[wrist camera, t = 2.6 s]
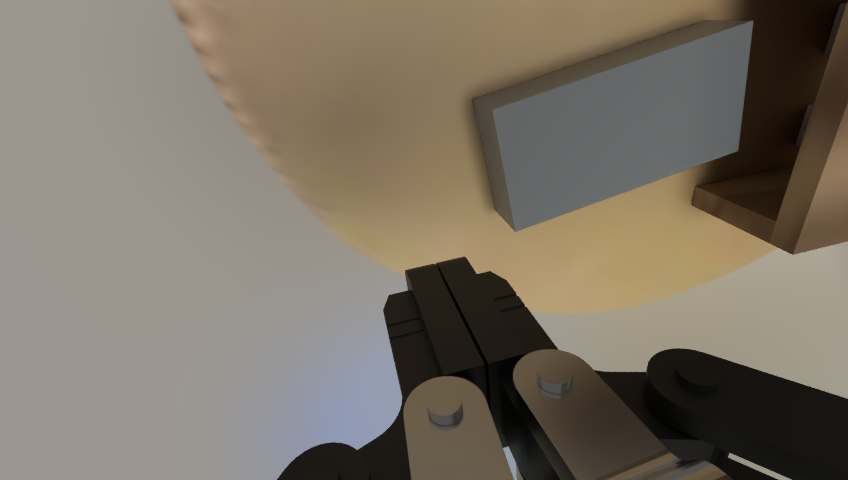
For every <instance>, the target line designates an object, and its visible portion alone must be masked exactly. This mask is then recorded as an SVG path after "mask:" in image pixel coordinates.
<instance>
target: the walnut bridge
mask: <svg viewBox="0 0 848 480" xmlns="http://www.w3.org/2000/svg"><path fill="white" fill-rule="evenodd" d="M824 55H830V57H829V60H828V63H827V67H826V70H825V73H824V76H823V79H822V82H821V85H820V88H819V91H818V94H817V97H816V100H815V103H813V104H808V107H807V110H806V113H805V116H804V119H803V122H802V126H801V129H800V132H799V135H798V138H797V141H796V144H795V146H797V147H800V150H799V153H798V156H797V159H796V162H795V165H794V166H790V167H785V168H781V169H776V170H771V171H767V172H762V173H757V174H752V175H748V176H743V177H738V178H734V179H729V180H724V181H720V182H715V183H710V184H706V185H701V186H696V187H695V192H694V197H693V202H692V206H695V207H697V208H699V209H701V210H703V211H705V212H707V213H709V214H711V215H713V216H715V217H717V218H719V219H721V220H723V221H725V222H727V223H729V224H731V225H733V226H735V227H737V228H739V229H741V230H743V231H746V232H748V233H750V234H752V235H754V236H756V237H758V238H760V239H762V240H764V241H766V242H768V243H770V244H772V245H774V246H776V247H778V248H780V249H782V250H784V251H787V252H788V253H790V254H793V255H794V254H798V253H802V252H806V251H810V250H814V249H818V248H822V247H826V246H830V245H834V244H838V243H842V242H846V241H848V2H847V3H841V4H840V6H839V9H838V12H837V15H836V18H835V22H834V25H833V28H832V31H831V34H830V37H829V41H828V44H827V47H826V50H825V53H824Z"/></svg>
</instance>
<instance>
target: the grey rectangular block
mask: <svg viewBox="0 0 848 480" xmlns="http://www.w3.org/2000/svg"><path fill="white" fill-rule="evenodd" d="M753 21H754V20H704V21H701V22H698V23H695V24H692V25H690V26H687V27H684V28H681V29H678V30H675V31H672V32H669V33H666V34H663V35H660V36H657V37H654V38H651V39H648V40H645V41H643V42H640V43H637V44H634V45H631V46H628V47H625V48H622V49H619V50H616V51H613V52H610V53H607V54H604V55H601V56H599V57H596V58H593V59H590V60H587V61H584V62H581V63H578V64H575V65H572V66H569V67H566V68H563V69H560V70H557V71H554V72H552V73H549V74H546V75H543V76H540V77H537V78H534V79H531V80H528V81H525V82H522V83H519V84H516V85H513V86H510V87H508V88H505V89H502V90H499V91H496V92H493V93H490V94H487V95H484V96H481V97H478V98H475V99H472V100H473V105H474V110H475V114H476V119H477V124H478V129H479V133H480V138H481V143H482V148H483V153H484V157H485V162H486V167H487V172H488V176H489V181H490V186H491V191H492V195H493V200H494V205H495V210H496V212H497V213H498V214H499V215H500V216H501V217H502V218H503V219H504V220H505V221H506V222H507V223H508V224H509V225H510V227H511V228H512V229H513V230H514V231H515V232H516V231H519V230H522V229H524V228H527V227H530V226H533V225H535V224H538V223H541V222H544V221H546V220H549V219H552V218H555V217H557V216H560V215H563V214H566V213H568V212H571V211H574V210H577V209H580V208H582V207H585V206H588V205H591V204H593V203H596V202H599V201H602V200H604V199H607V198H610V197H613V196H615V195H618V194H621V193H624V192H626V191H629V190H632V189H635V188H637V187H640V186H643V185H646V184H648V183H651V182H654V181H657V180H659V179H662V178H665V177H668V176H670V175H673V174H676V173H679V172H682V171H684V170H687V169H690V168H693V167H695V166H698V165H701V164H704V163H706V162H709V161H712V160H715V159H717V158H720V157H723V156H726V155H728V154H731V153H734V152H737V151H738V148H739V140H740V131H741V123H742V114H743V106H744V97H745V89H746V80H747V72H748V63H749V55H750V46H751V38H752V29H753Z"/></svg>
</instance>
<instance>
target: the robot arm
mask: <svg viewBox="0 0 848 480" xmlns="http://www.w3.org/2000/svg"><path fill="white" fill-rule="evenodd" d="M405 275H406V281H407V287H408V291H405V292H401V293H396V294H392V295H389V296H388V299H387V302H386V304H385V307H384V310H383V311H384V316H385V321H386V325H387V330H388V335H389V339H390V344H391V348H392V353H393V358H394V362H395V366H396V371H397V375H398V380H399V384H400V389H401V393H402V405H401V409H400V412H399V414H398V416H397V418H396V419H395V421H394V423H393V424H392V425H391V426H390V427H389V428H388V429H387V430H386V431H385V432H384V433H383V434H382V435H380V436H379V437H377V438H376V439H374V440H373V441H371V442H370V443H368V444H366V445H365V446H363V447H362V448H360V449H358V450H356V449H355V448H353V447H351V446H349V445H347V444H343V443H326V444H321V445H318V446H315V447H313V448H310V449H308V450H307V451H305V452H303V453H302V454H300V455H299V456H298V457H296V458H295V459H294V460H293V461H292V462H291V463H290V464H289V465H288V466H287V468H286V469H285V470H284V471H283V472H282V474H281V475H280V476H279V478H278V479H277V480H514V479H513V476H512V473H511V470H510V467H509V464H508V461H507V459H506V456H505V453H504V450H503V448H504V447H507V446H509V448H510V450H511V453H512V455H513V457H514V459H515V461H516V469H517V470H516V472H517V480H778V479H775V478H773V477H771V476H769V475H766V474H764V473H762V472H759V471H757V470H755V469H753V468H750V467H748V466H746V465H743V464H741V463H739V462H736V461H734V460H732V459H730V458H728V455H729V453H732V454H734V455H737V456H739V457H741V458H743V459H746V460H748V461H750V462H753V463H755V464H757V465H760V466H762V467H764V468H767V469H769V470H771V471H774V472H776V473H778V474H780V475H783V476H785V477H788V478H790V479H792V480H848V399H846V398H843V397H840V396H837V395H834V394H831V393H827V392H824V391H821V390H818V389H815V388H812V387H809V386H806V385H803V384H800V383H796V382H793V381H790V380H787V379H784V378H781V377H778V376H774V375H772V374H768V373H765V372H762V371H759V370H756V369H753V368H750V367H747V366H744V365H740V364H737V363H734V362H731V361H728V360H725V359H722V358H719V357H715V356H712V355H709V354H706V353H703V352H699V351H695V350H690V349H669V350H664V351H661V352H659V353H657V354H656V355H654V356H653V357H652V358H651V359H650V361H649V362H648V366H647V371H646V372H603V371H596V370H593V369H592V368H591V367H590V366H589V365H588V364H587V363H586V362H585V361H584V360H582V359H581V358H579V357H578V356H576V355H574V354H571V353H569V352H565V351H561V350H558V349H557V347H556V346H555V345H554V343H553V342H552V341H551V339H550V338H549V337H548V335H547V334H546V333H545V331H544V330H543V329H542V327H541V326H540V325H539V323H538V322H537V321H536V319H535V318H534V317H533V315H532V314H531V312H530V311H529V310H528V308H527V307H525V305H524V303H523V302H522V300H521V299H520V298H519V296H517V295H516V292H515V291H514V290H513V288H512V287H511V286H510V284H509V283H508V282H507V280H505V279H503V278H501V277H499V276H498V275H496V274H494V273H492V272H491V271H489V272H485V273H481V274H476V272H475V271H474V269H473V268H472V266H471V264H470V263H469V261H468V260H467V258H466V257H461V258H456V259H452V260H447V261H443V262H439V263H436V265H435V264H430V265H426V266H422V267H417V268H413V269H408V270H405Z"/></svg>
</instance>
